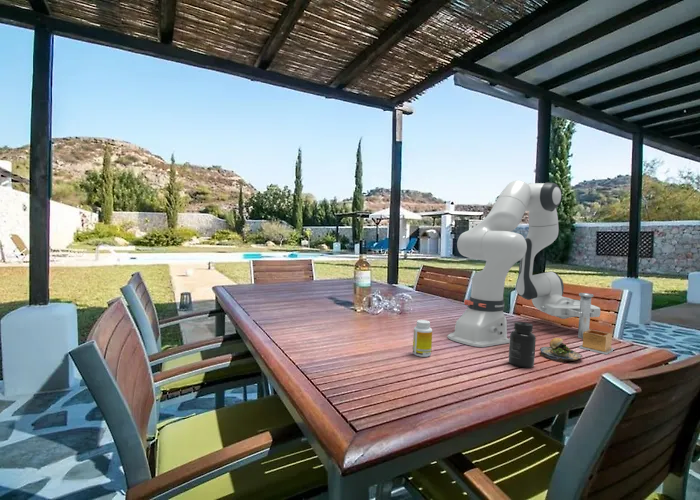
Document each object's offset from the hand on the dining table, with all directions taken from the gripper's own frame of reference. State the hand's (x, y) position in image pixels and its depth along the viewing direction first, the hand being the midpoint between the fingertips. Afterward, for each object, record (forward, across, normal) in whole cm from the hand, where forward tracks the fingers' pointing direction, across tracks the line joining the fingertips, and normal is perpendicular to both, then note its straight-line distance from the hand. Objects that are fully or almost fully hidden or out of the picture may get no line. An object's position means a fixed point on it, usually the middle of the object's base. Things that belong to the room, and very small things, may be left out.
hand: (586, 314), depth 140 cm
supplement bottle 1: (+20, -68, +9) cm, 72 cm away
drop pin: (-1, 0, +9) cm, 9 cm away
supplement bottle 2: (+27, -41, +9) cm, 50 cm away
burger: (+20, -24, +10) cm, 33 cm away
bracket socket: (+12, -5, +9) cm, 16 cm away
